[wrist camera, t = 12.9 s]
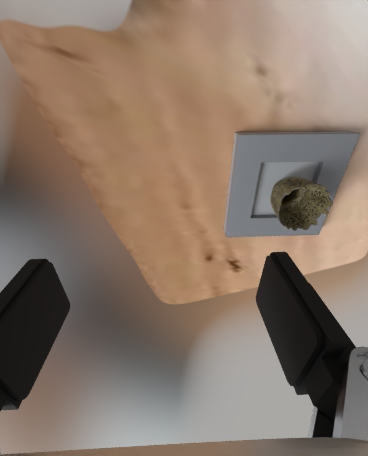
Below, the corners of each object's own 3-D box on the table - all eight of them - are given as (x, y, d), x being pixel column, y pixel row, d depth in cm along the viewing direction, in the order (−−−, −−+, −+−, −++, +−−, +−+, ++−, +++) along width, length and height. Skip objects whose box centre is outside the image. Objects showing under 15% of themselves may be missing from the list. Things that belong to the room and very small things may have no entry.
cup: (280, 158, 34) (307, 174, 27) (312, 179, 36) (344, 199, 29) (250, 196, 37) (268, 218, 31) (281, 213, 39) (303, 238, 33)
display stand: (235, 132, 33) (239, 135, 31) (348, 131, 33) (359, 133, 31) (223, 230, 42) (226, 237, 40) (312, 228, 43) (318, 234, 41)
